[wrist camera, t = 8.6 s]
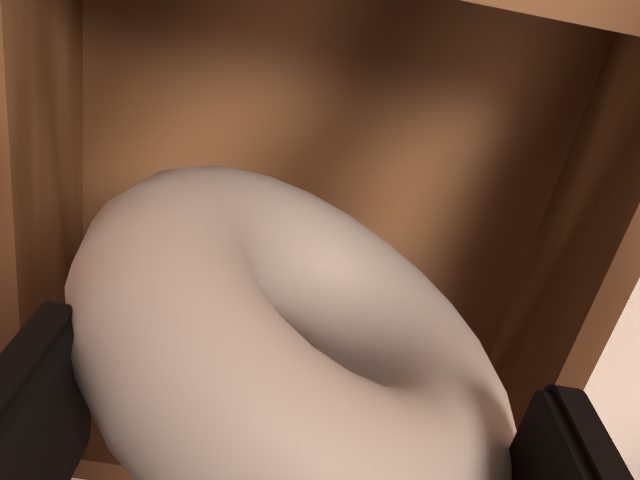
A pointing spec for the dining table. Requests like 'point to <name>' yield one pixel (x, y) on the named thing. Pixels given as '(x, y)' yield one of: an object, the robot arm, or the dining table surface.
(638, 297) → the dining table surface
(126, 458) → the donut
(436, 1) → the walnut box
